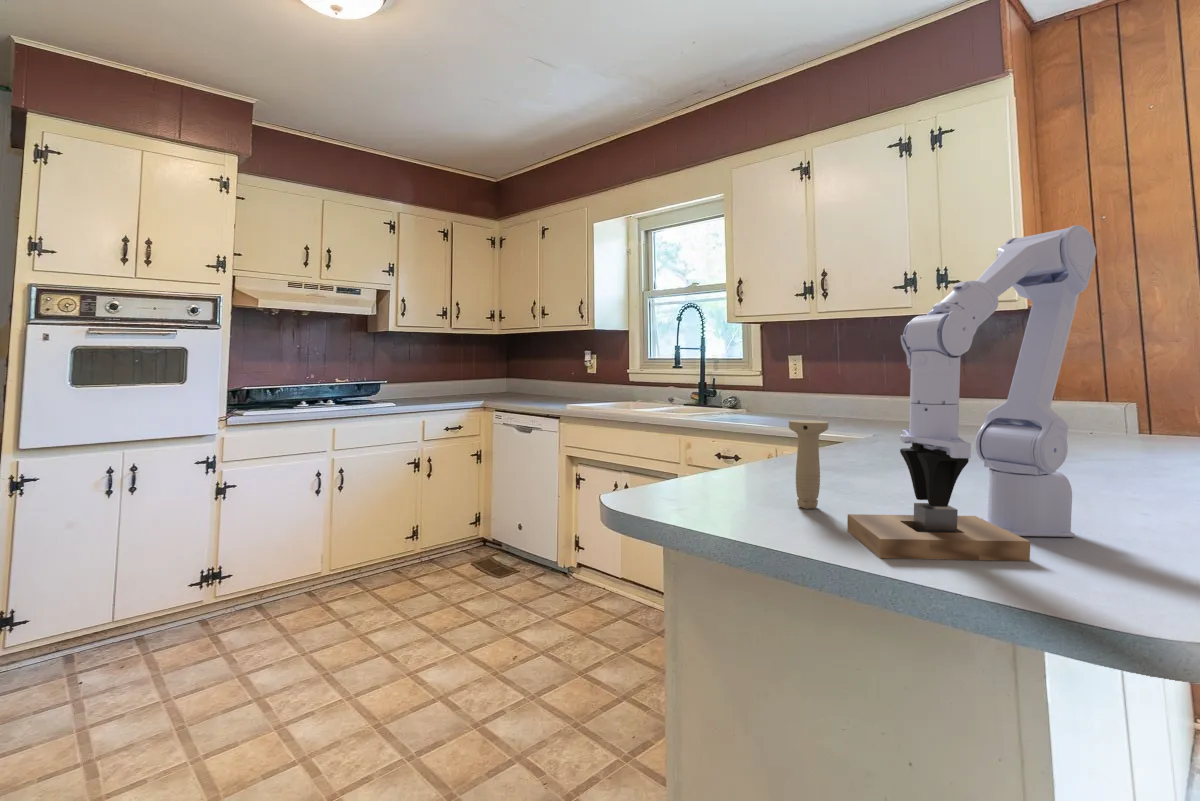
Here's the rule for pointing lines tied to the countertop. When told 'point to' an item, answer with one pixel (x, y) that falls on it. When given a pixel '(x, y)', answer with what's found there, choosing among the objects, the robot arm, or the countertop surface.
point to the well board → (937, 539)
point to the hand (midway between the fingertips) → (931, 502)
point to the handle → (808, 460)
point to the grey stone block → (934, 518)
